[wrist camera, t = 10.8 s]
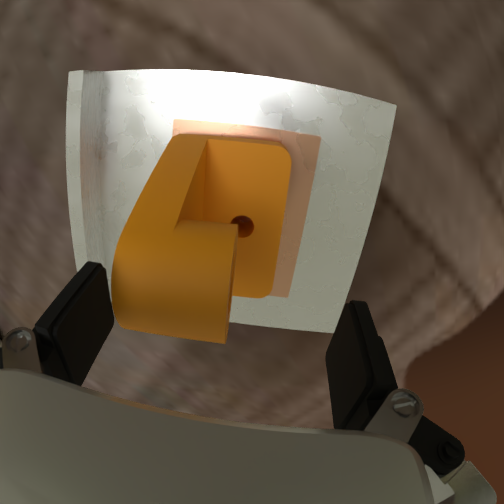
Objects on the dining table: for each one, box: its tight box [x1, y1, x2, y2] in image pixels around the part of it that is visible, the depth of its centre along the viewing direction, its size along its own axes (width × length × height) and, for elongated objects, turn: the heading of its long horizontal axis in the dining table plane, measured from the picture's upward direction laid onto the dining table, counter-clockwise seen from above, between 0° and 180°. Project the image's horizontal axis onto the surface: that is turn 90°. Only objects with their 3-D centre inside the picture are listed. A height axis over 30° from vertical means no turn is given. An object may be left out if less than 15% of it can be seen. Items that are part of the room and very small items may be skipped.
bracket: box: [111, 134, 292, 344], centre depth 17 cm, size 11×7×12 cm
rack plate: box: [66, 70, 397, 333], centre depth 22 cm, size 22×20×4 cm
